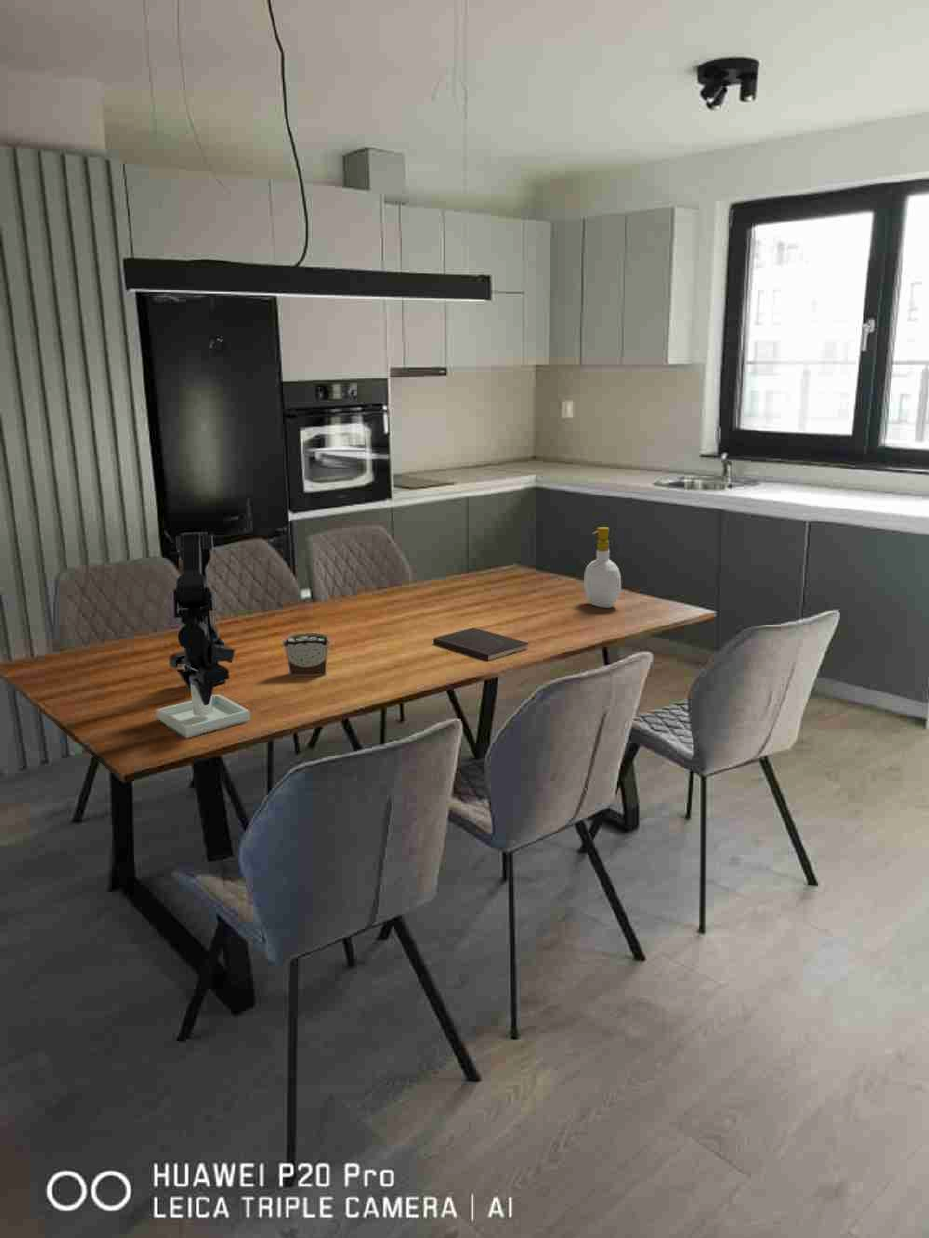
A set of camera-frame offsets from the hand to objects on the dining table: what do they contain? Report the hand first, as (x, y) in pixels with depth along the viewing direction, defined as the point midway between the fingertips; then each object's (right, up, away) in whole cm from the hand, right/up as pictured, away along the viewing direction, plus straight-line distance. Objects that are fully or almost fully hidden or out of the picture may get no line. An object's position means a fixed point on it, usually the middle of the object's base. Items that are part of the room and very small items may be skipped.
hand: (202, 701), depth 222 cm
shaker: (0, -2, +1) cm, 3 cm away
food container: (+19, +5, +34) cm, 40 cm away
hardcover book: (+65, +11, +54) cm, 85 cm away
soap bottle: (+105, +23, +96) cm, 144 cm away
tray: (0, -4, +1) cm, 4 cm away
